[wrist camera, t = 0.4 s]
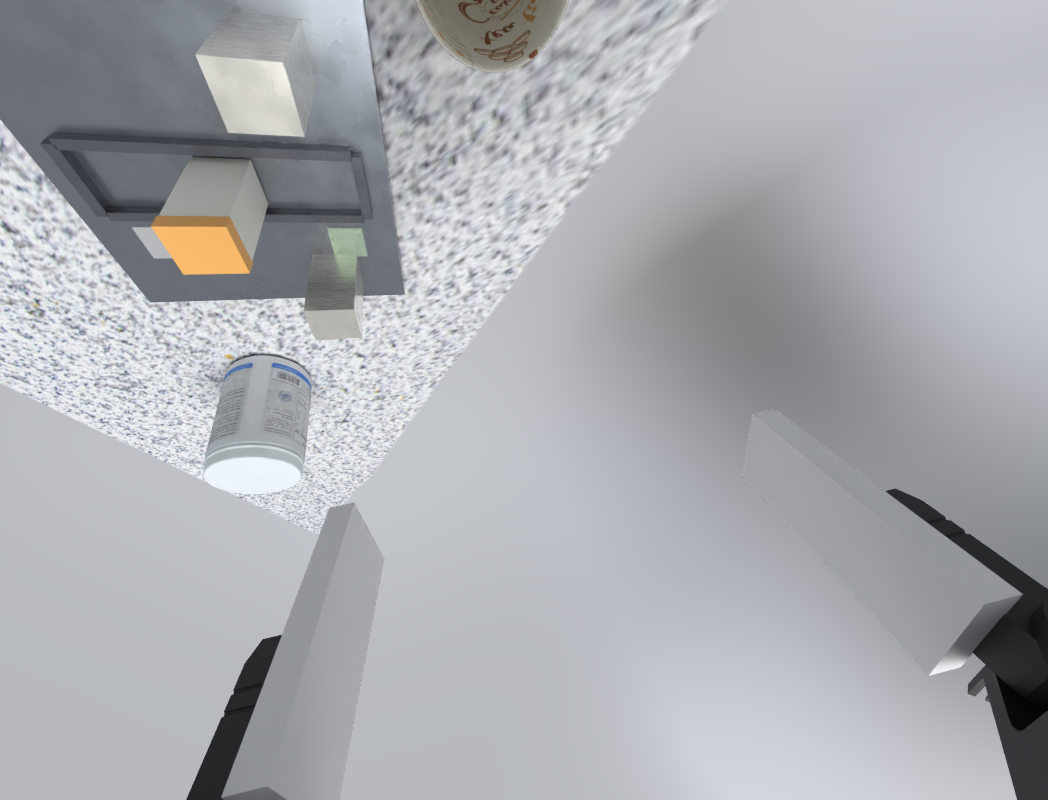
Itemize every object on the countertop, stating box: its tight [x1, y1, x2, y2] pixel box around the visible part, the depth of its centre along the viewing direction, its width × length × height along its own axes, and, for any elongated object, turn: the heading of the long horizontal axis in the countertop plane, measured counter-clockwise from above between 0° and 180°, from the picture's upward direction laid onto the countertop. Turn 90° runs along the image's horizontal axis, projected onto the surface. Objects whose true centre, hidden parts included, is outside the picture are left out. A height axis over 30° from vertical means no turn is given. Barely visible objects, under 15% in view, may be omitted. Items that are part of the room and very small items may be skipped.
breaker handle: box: [151, 157, 268, 275], centre depth 29 cm, size 4×4×9 cm
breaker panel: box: [0, 0, 405, 340], centre depth 30 cm, size 24×24×10 cm
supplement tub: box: [203, 355, 312, 494], centre depth 48 cm, size 10×10×15 cm
